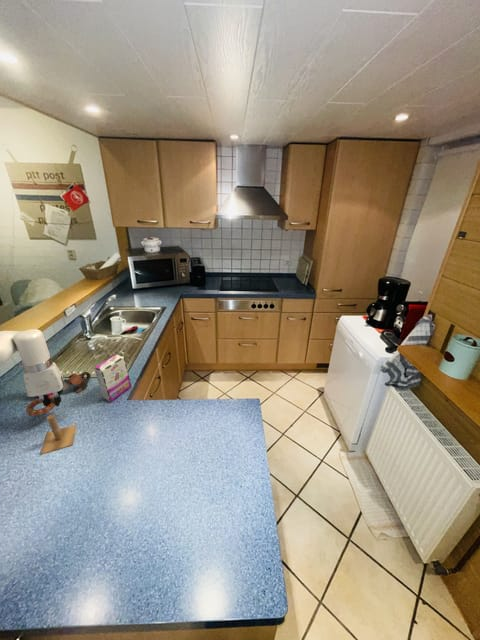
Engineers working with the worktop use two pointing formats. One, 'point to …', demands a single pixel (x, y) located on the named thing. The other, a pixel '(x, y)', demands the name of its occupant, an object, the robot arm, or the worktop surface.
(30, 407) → the ring
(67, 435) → the post
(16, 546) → the worktop surface
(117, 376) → the candy bar box
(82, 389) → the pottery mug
